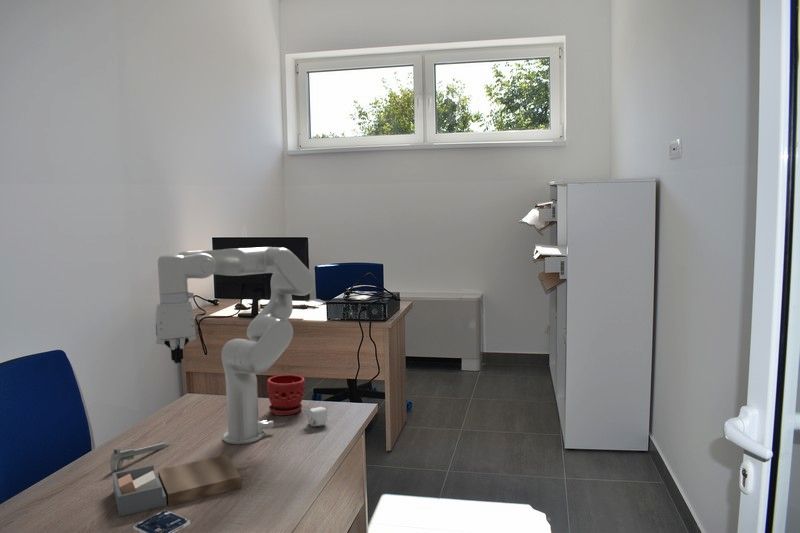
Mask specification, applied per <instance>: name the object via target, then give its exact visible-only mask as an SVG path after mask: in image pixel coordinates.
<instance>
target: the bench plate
mask: <svg viewBox="0 0 800 533" xmlns="http://www.w3.org/2000/svg"><path fill="white" fill-rule="evenodd" d="M157 472H158V473H157V474H158V477H159V479H160V482H161V484H162V487H163V489H164V492H165V494H166V502H167V506H173V505H178V504H181V503H185V502H189V501H193V500H197V499H201V498H206V497H210V496H214V495H217V494H221V493H226V492H229V491H234V490H237V489H238V490H239V489H241V488H243V486H242V484H243V483H242V476H241V473H239V471H238V470H237V468H236V467H235V465H234V464H233V463H232V461H231V460H230V458H229V457H228V456H227V455H226V454H224V455H219V456H215V457H210V458H206V459H201V460H196V461H192V462H188V463H183V464H178V465H175V466H169V467H165V468H160V469H158V470H157Z"/></svg>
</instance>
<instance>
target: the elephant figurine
mask: <svg viewBox="0 0 800 533" xmlns="http://www.w3.org/2000/svg"><path fill="white" fill-rule="evenodd" d="M303 412H304V414H305V417H306V418H307V423H308V425H309V424H311V425H310V426H311V427H312V426H313V427H316V426H317V427H319V426H325V425H326V424H327V423H329V419H328V415H329V414H328V403H327V402H324V407H323V406H317V407H311V408H310V407H308V405H306V406H305V407H304V409H303ZM326 421H327V422H326Z"/></svg>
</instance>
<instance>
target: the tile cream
mask: <svg viewBox="0 0 800 533" xmlns="http://www.w3.org/2000/svg"><path fill="white" fill-rule="evenodd" d="M133 482H134V485H135V489H136V491H140V490H144V489H149V488H153V487H157V486H159V484H158V481H157V478H156V476H155V471H154V472H153V471H151V472H149V473H147V474H145V475H143V476H141V477H139V478H137V479H135V480H133Z"/></svg>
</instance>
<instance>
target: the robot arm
mask: <svg viewBox="0 0 800 533" xmlns="http://www.w3.org/2000/svg"><path fill="white" fill-rule="evenodd" d="M157 273H158V276H157V277H158V292H159V303H157V304H156V309H155V335H156V339H155V344H157V345H163V346H164V345H165V346H166V347H168V348H169V349H170V357H171V361H173V363H174V364H181V363H182V360H183V359H184V348H185V347H186V346H187V344H188V343H189V342H192V341H195V340H196V339H197V335H196V324H195V314H194V310H193V306H192V303H191V301H190V299H193V298H194V292H189V290H188V288H189V287H188V279H199V280H200V279H206V278H209V277H211V276H212V275H215V276H217V275H219V276H228V277H230V276H231V277H235V276H237V277H238V276H239V277H241V276H249V275H260V274H261V275H263V274H272V275H271V278H270V292H271V293H270V299H269V301H268V302H267V303H266V305H265V306H264V308H263V309H261V311H260V312H259V313H258V314H257V315H256V316H255V317H254V318H253V319H252V320H251V322H250V323H249V324H248V327H247V328H246V336H247V338H248V339H245V338H233V339H231V340H228V341H227V342H226V343H225V344H224V345H223V347H222V349H221V356H220V357H221V363H222V366H223V371H224V378H225V390H226V391H225V392H226V393H225V394H226V395H225V396H226V397H225V398H226V413H227V414H226V415H227V420H226V421H227V431H225V432H224V433H223V436H222V439H223V441H224V442H225V443H226V444H231V445H246V444H251V443H255V442H257V441H259V440H261V439H262V438H264V436H265V431H264V430H265V429H267V428H268V429H270V428H274V425H275V423H274V420H269V421H268V420H267V419H266V420H265V419H264V420H262V421H261V420H259V419H260V418H259V397H258V378H257V375H260V374H263V373H265V372H267V371H268V370H269V369H270V368H271V367H272V366H273V365H274V364H275V362H276V361H277V360H278V359H279V358H280V356H281V355H282V354H283V353H284V352H285V350H286V349H287V348H288V347H289V345H290V344H291V341H292V339H293V337H294V328H293V325H292V323H291V322H290V321H289V318H290V317H291V315H292V313H293V296H300V297H302V296H304V297H305V296H307V295H309V294H311V293H312V292H313V290H314V288H315V284H316V283H315V277H314V275H313V273H312V272H311V271H310V269H309V268H308V267H307V266H306V265H305V264H304V263H303V262H302V261H301V259H299V257H298V256H297V255H296V254H294V252H292V251H291V250H290V249H288V248H286V247H277V246H273V247H272V246H261V247H260V246H258V247H255V246H254V247H238V248H223V249H212V250H211V249H210V250H209V249H207V250H187V251H186V250H185V251H181V252H179V253H177V254H163V255H160V256H159V257H158V259H157ZM292 295H293V296H292ZM175 340H178V342H177V345H176V344H175Z"/></svg>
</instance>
